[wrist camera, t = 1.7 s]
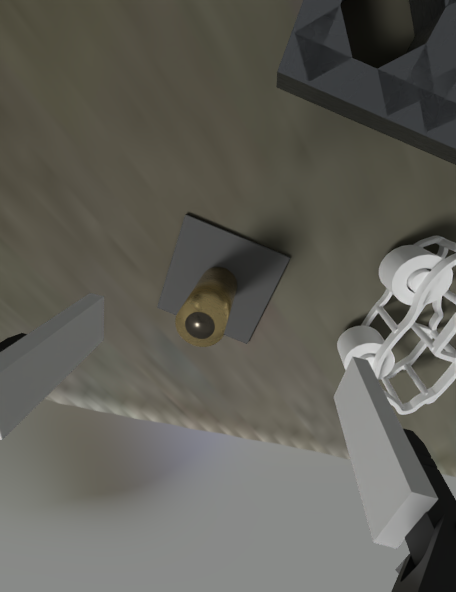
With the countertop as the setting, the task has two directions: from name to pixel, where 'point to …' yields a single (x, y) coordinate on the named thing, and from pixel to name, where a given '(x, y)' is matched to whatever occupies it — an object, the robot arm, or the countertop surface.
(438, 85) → the block
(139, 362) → the countertop surface
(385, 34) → the countertop surface
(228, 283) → the bushing
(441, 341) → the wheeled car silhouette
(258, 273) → the mat
